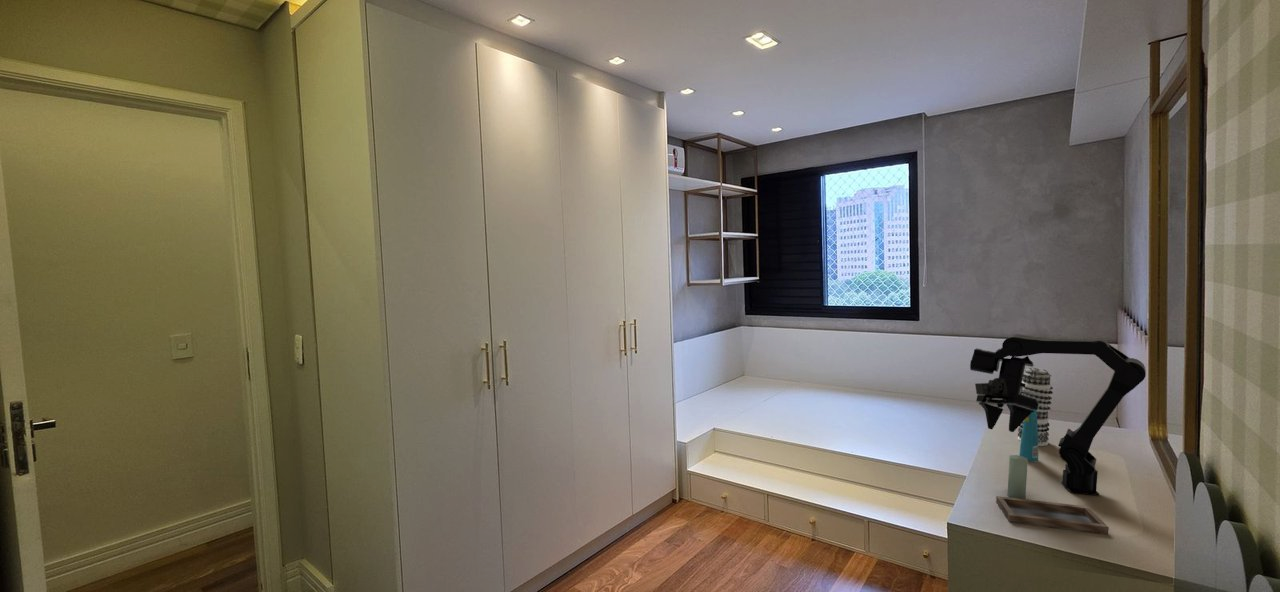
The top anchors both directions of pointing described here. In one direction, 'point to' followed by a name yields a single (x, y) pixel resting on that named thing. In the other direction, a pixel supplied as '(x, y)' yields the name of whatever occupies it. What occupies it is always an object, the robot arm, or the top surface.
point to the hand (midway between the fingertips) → (1000, 430)
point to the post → (1017, 477)
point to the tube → (1030, 438)
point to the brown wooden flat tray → (1051, 515)
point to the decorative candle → (1039, 389)
